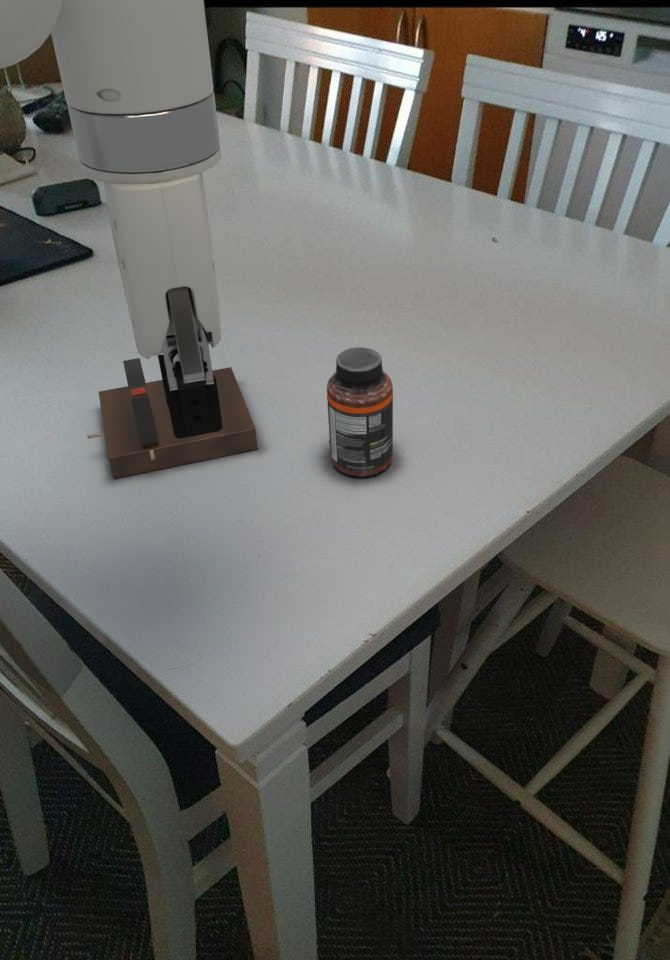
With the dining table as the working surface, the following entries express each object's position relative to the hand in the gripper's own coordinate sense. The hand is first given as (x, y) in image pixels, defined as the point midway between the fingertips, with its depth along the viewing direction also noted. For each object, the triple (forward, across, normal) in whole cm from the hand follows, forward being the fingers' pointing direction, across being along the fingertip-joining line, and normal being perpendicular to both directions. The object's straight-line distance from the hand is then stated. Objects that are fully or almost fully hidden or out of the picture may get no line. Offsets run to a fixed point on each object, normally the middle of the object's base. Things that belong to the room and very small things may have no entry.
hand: (194, 415), depth 54 cm
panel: (+17, -22, -1) cm, 28 cm away
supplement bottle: (+17, -12, +16) cm, 26 cm away
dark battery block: (+14, -21, -4) cm, 26 cm away
